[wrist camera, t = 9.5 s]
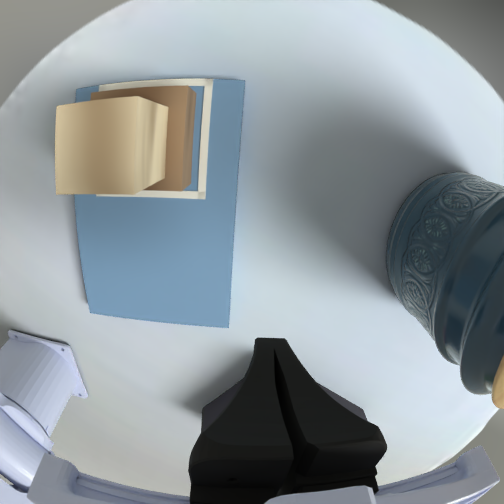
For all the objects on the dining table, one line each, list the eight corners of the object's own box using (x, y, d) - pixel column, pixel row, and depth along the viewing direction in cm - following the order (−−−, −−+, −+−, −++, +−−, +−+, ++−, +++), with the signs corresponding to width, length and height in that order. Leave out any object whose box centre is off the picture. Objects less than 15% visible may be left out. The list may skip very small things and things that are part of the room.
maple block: (101, 177, 16) (56, 194, 11) (103, 111, 14) (56, 106, 10) (165, 178, 16) (134, 194, 11) (168, 107, 14) (137, 96, 10)
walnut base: (108, 182, 19) (88, 190, 16) (111, 97, 17) (90, 92, 14) (190, 183, 19) (181, 191, 16) (196, 93, 17) (187, 85, 14)
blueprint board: (94, 307, 24) (89, 313, 22) (83, 90, 17) (75, 88, 16) (229, 320, 24) (228, 328, 23) (245, 83, 18) (244, 79, 17)
